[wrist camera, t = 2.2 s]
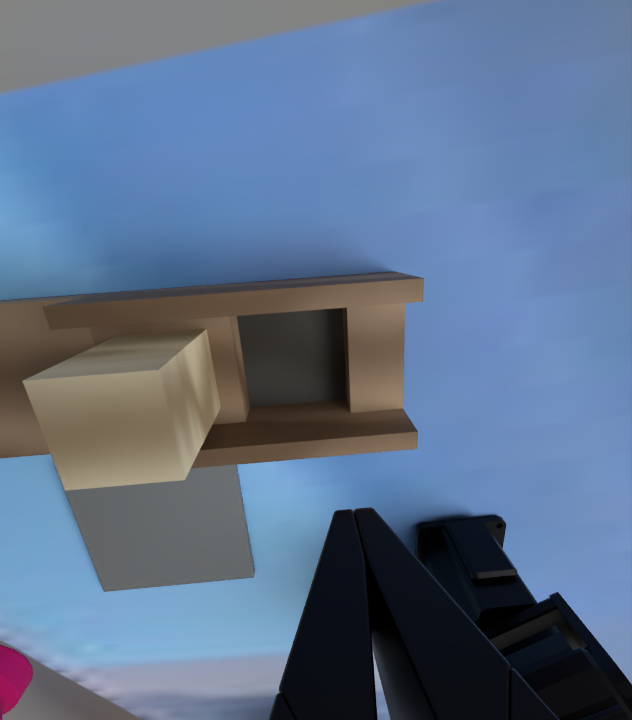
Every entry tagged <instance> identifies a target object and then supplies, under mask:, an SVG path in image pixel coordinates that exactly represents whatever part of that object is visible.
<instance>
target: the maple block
mask: <svg viewBox="0 0 632 720" xmlns="http://www.w3.org/2000/svg"><path fill="white" fill-rule="evenodd" d="M23 384H24V386H25V389H26V391H27V394H28V396H29V399H30V402H31V404H32V407H33V409H34V412H35V414H36V417H37V420H38V422H39V425H40V427H41V430H42V432H43V435H44V438H45V440H46V443H47V445H48V448H49V450H50V453H51V456H52V458H53V461H54V463H55V466H56V468H57V471H58V474H59V476H60V479H61V481H62V484H63V486H64V489H65V491H67V490H78V489H89V488H101V487H112V486H123V485H135V484H146V483H157V482H169V481H180V480H185V479H186V477H187V475H188V473H189V471H190V469H191V467H192V465H193V463H194V461H195V459H196V457H197V455H198V453H199V450H200V448H201V446H202V444H203V442H204V440H205V438H206V436H207V434H208V432H209V430H210V428H211V426H212V424H213V422H214V420H215V418H216V416H217V414H218V412H219V410H220V408H221V407H220V401H219V396H218V390H217V385H216V379H215V374H214V368H213V363H212V357H211V352H210V346H209V341H208V335H207V330H206V329H200V330H187V331H174V332H161V333H148V334H135V335H122V336H116V337H114V338H112V339H110V340H108V341H105V342H103V343H101V344H99V345H97V346H95V347H93V348H91V349H89V350H86V351H84V352H82V353H80V354H78V355H76V356H74V357H72V358H70V359H67V360H65V361H63V362H61V363H59V364H57V365H55V366H53V367H51V368H48V369H46V370H44V371H42V372H40V373H38V374H36V375H34V376H32V377H29V378H27V379H25V380H23Z"/></svg>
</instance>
